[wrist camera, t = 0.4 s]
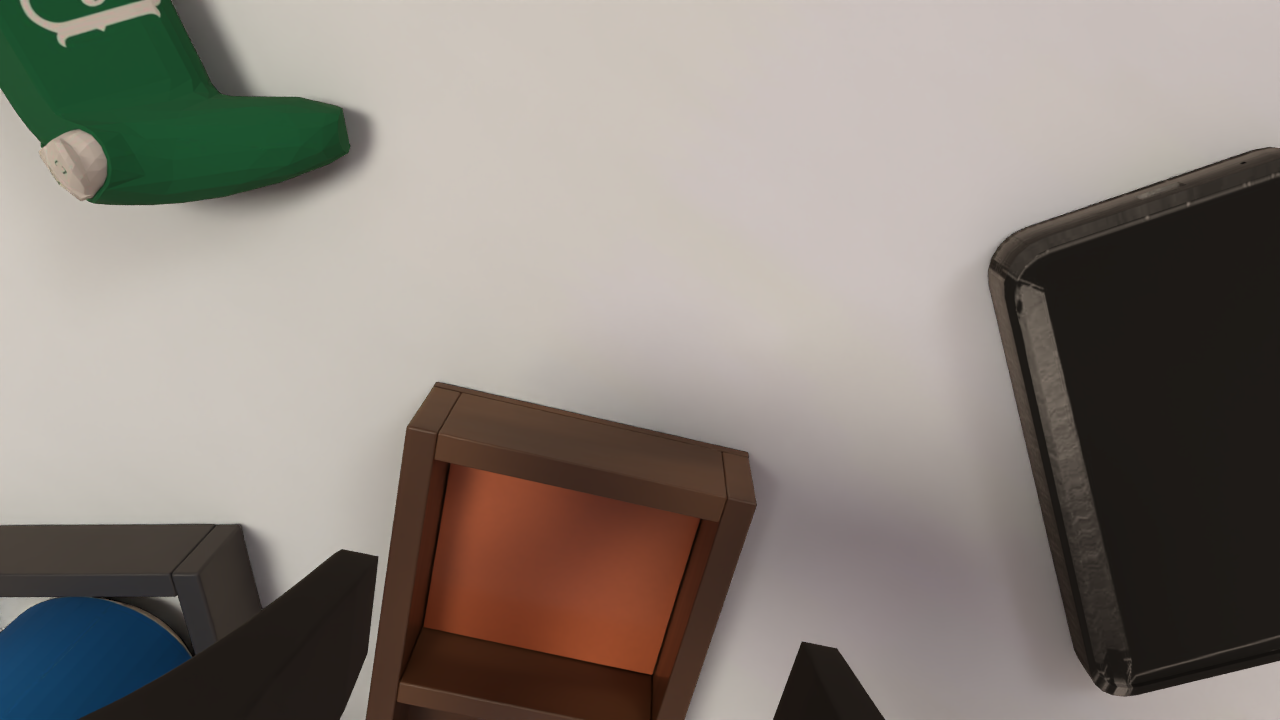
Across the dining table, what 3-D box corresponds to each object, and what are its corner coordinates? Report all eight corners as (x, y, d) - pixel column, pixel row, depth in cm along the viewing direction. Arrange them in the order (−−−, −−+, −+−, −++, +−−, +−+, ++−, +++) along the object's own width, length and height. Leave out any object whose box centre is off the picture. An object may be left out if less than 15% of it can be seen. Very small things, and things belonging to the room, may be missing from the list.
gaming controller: (140, -205, 19) (-171, -175, 16) (171, -294, 16) (-201, -279, 13) (319, 166, 23) (90, 253, 19) (372, 147, 20) (111, 246, 16)
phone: (1097, 704, 25) (995, 254, 20) (1080, 677, 26) (979, 243, 21) (1377, 636, 24) (1345, 136, 18) (1347, 611, 25) (1310, 131, 19)
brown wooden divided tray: (748, 451, 23) (757, 504, 21) (616, 858, 30) (611, 936, 27) (436, 381, 23) (405, 426, 20) (371, 809, 29) (342, 885, 27)
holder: (305, 777, 29) (273, 842, 27) (17, 775, 29) (-39, 839, 27) (241, 523, 25) (197, 573, 23) (-90, 525, 25) (-167, 575, 23)
